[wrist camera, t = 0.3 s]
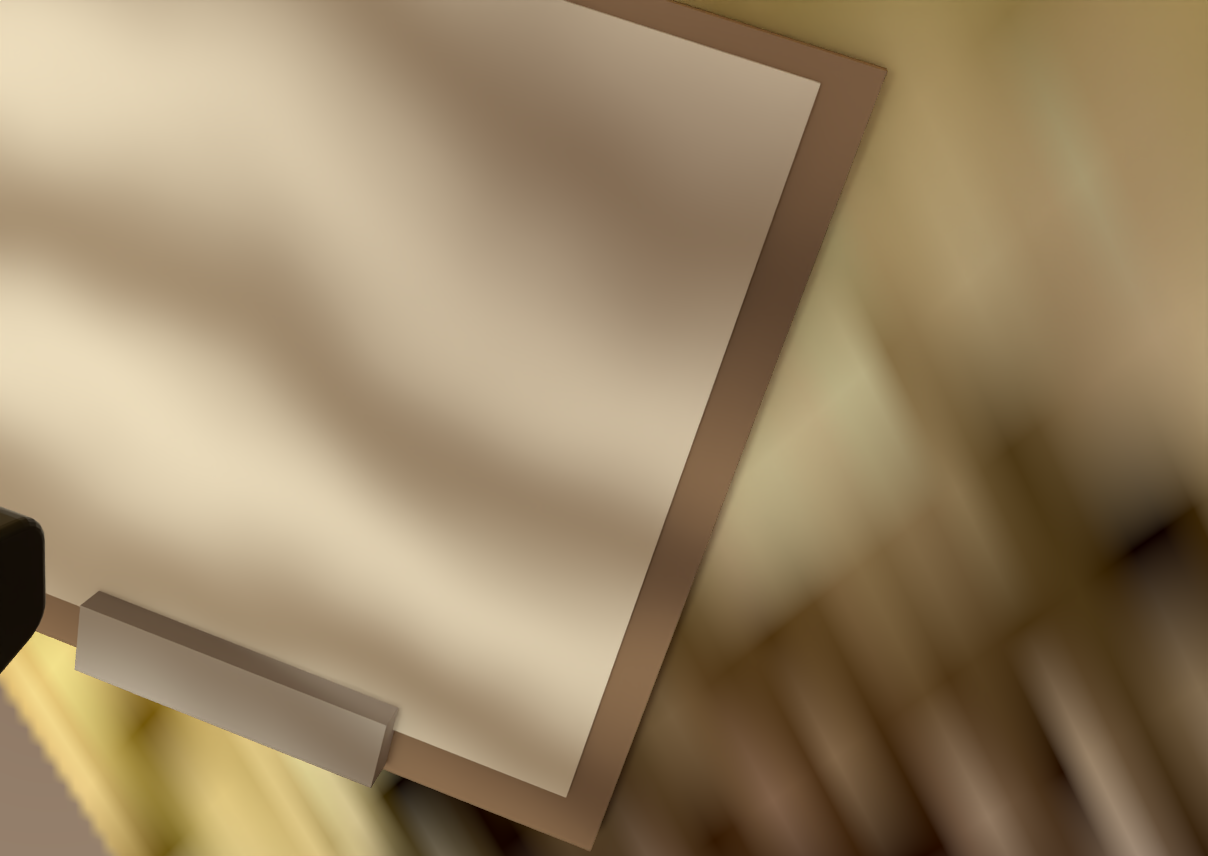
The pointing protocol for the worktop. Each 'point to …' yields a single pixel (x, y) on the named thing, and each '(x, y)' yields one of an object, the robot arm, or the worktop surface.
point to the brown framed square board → (399, 356)
